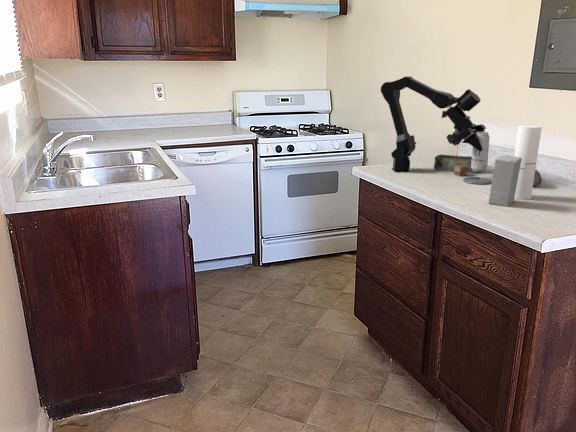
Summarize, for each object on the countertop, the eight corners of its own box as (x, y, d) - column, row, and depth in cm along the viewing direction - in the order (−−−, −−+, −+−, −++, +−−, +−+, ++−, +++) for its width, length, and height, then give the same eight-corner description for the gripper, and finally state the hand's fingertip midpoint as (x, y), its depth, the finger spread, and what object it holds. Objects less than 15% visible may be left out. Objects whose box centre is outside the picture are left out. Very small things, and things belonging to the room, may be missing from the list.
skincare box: (495, 198, 171) (500, 154, 166) (516, 202, 166) (523, 156, 162) (487, 203, 165) (492, 157, 160) (509, 207, 160) (515, 160, 155)
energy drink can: (467, 170, 194) (470, 132, 190) (475, 168, 198) (478, 131, 193) (482, 172, 190) (484, 133, 185) (489, 169, 193) (492, 132, 189)
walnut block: (459, 176, 204) (460, 167, 203) (453, 174, 208) (454, 165, 207) (467, 175, 205) (468, 166, 204) (461, 174, 209) (462, 164, 208)
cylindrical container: (533, 200, 169) (544, 127, 161) (511, 199, 170) (521, 127, 162) (528, 194, 175) (538, 125, 168) (507, 193, 177) (516, 124, 169)
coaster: (469, 185, 190) (469, 183, 190) (458, 178, 200) (458, 177, 200) (497, 184, 190) (497, 182, 190) (484, 178, 201) (484, 176, 201)
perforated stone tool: (545, 189, 183) (548, 171, 181) (531, 189, 183) (534, 171, 181) (525, 179, 198) (528, 163, 196) (512, 180, 198) (515, 163, 195)
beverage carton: (438, 166, 225) (439, 152, 223) (481, 171, 215) (483, 156, 213) (433, 169, 218) (434, 155, 216) (477, 174, 209) (479, 159, 207)
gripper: (453, 129, 206) (476, 158, 203) (435, 134, 192) (459, 165, 189) (474, 112, 199) (498, 142, 195) (456, 115, 185) (482, 147, 182)
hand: (484, 149), depth 190 cm, fingers closed on energy drink can, 6 cm apart
